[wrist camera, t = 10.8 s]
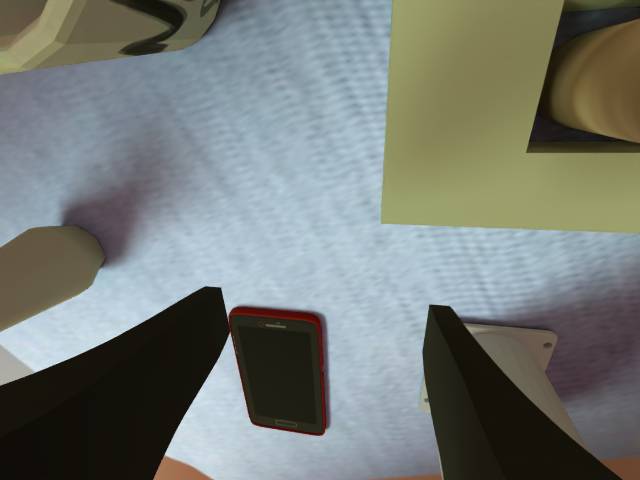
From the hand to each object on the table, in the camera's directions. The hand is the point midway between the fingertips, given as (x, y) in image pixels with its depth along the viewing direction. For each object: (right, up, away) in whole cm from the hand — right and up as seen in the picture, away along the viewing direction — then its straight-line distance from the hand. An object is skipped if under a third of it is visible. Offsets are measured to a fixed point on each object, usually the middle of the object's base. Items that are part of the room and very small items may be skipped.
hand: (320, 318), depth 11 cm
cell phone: (-3, -9, +18) cm, 20 cm away
